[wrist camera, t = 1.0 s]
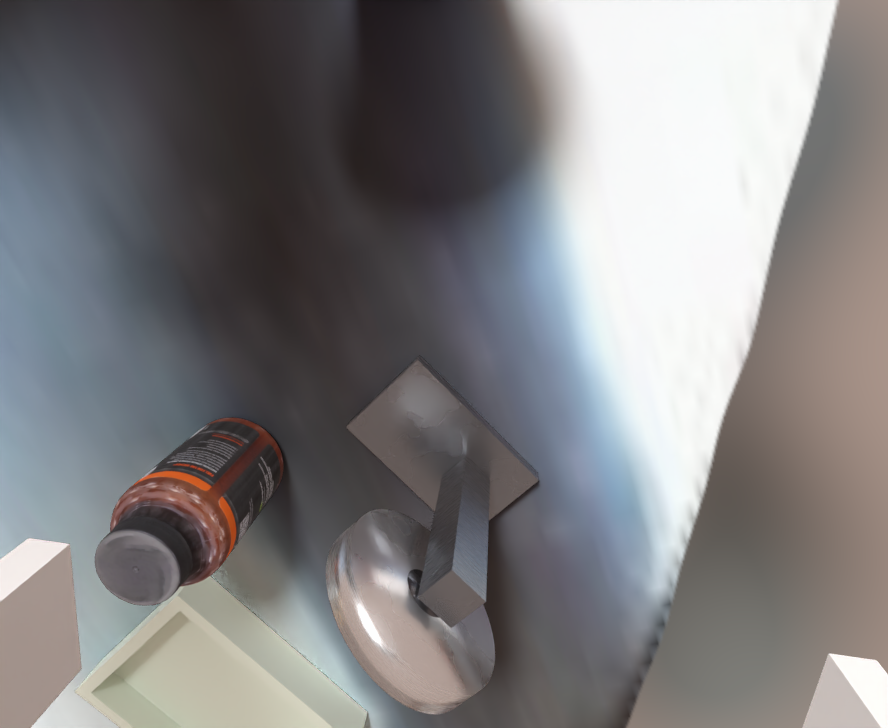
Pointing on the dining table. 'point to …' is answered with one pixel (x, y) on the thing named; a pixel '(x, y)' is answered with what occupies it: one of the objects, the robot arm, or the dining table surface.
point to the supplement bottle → (189, 511)
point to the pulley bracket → (425, 545)
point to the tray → (213, 672)
